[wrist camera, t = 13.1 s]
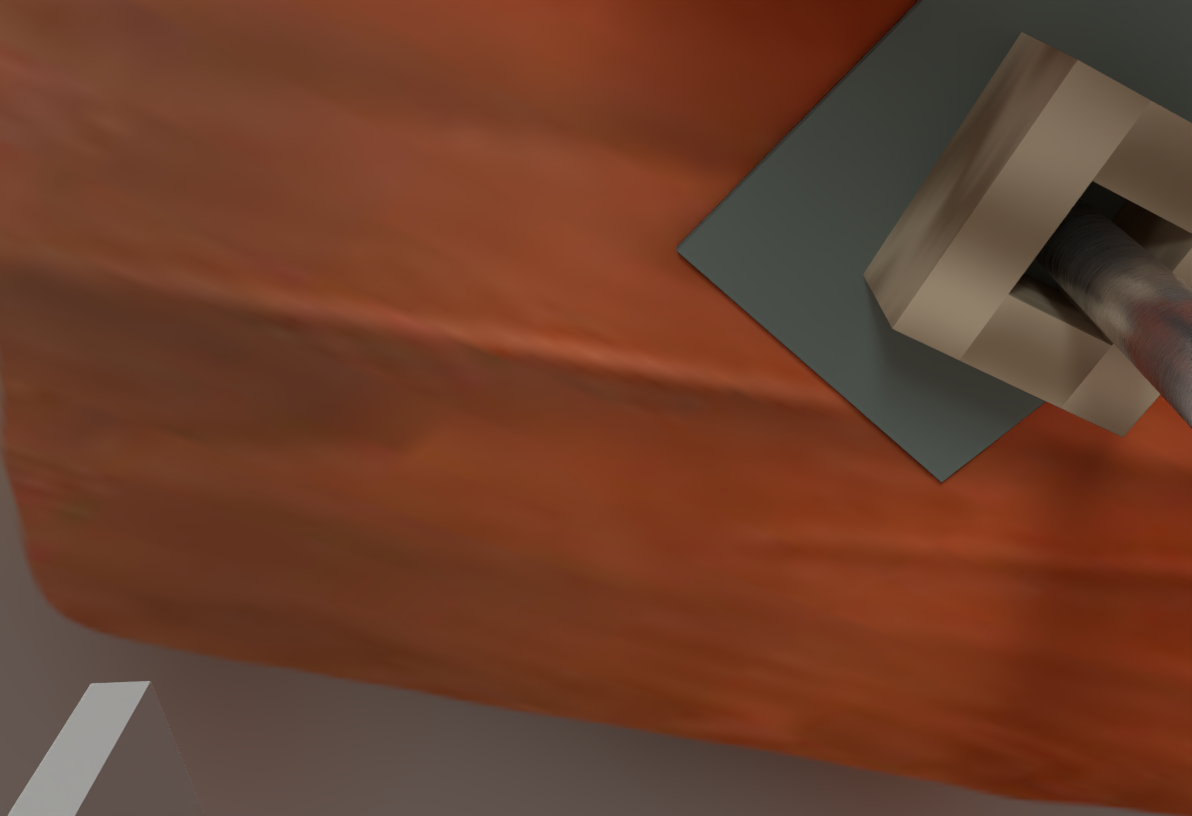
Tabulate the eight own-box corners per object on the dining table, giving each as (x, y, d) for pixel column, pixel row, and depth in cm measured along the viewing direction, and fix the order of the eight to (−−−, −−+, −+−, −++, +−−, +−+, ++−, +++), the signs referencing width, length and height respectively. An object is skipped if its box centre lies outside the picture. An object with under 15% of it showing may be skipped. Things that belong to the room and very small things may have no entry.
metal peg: (1042, 173, 37) (1334, 423, 22) (1099, 203, 38) (1424, 468, 22) (999, 233, 39) (1247, 510, 23) (1054, 261, 39) (1333, 551, 23)
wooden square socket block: (1021, 31, 35) (1077, 59, 31) (1246, 156, 37) (1329, 199, 33) (863, 274, 40) (892, 328, 35) (1070, 374, 41) (1122, 437, 37)
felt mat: (1228, -316, 30) (1235, -318, 30) (1482, 53, 35) (1491, 55, 35) (676, 247, 40) (676, 251, 39) (939, 477, 45) (941, 482, 44)
